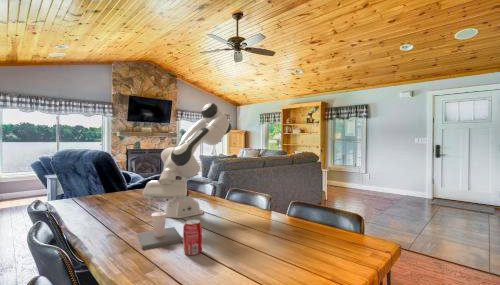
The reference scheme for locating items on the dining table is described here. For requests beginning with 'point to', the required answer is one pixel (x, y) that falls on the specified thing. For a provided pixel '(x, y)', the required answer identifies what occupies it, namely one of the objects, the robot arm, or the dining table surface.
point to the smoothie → (159, 222)
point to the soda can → (192, 237)
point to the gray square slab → (159, 238)
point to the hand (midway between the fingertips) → (160, 206)
